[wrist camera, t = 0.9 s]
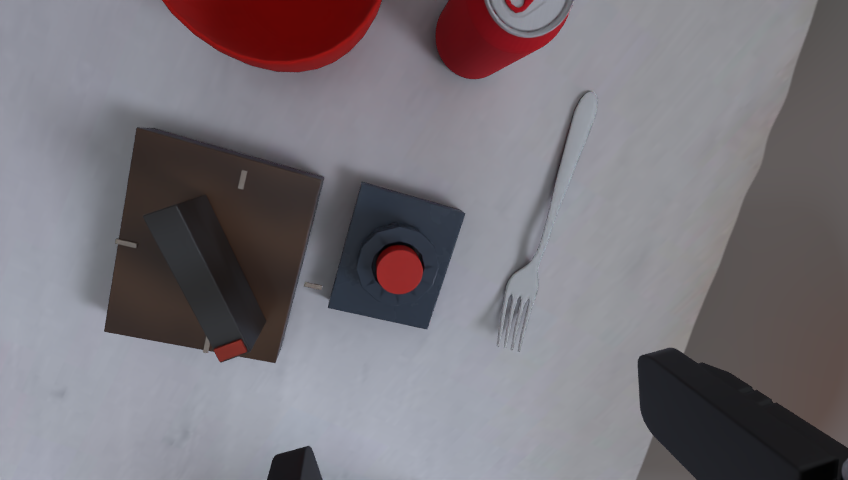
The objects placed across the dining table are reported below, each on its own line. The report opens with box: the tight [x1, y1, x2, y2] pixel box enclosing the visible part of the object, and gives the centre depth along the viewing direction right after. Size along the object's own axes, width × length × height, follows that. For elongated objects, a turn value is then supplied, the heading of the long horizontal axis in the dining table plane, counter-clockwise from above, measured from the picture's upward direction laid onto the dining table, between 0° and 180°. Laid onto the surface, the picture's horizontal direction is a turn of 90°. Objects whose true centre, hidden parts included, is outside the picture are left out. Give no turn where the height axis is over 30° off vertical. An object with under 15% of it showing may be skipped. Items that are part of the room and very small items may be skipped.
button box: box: [328, 182, 465, 329], centre depth 34 cm, size 11×9×4 cm
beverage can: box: [436, 0, 574, 79], centre depth 27 cm, size 6×6×12 cm
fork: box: [497, 91, 598, 352], centre depth 36 cm, size 3×24×2 cm, turn 163°
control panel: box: [104, 128, 324, 363], centre depth 32 cm, size 16×15×3 cm
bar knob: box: [143, 195, 266, 362], centre depth 29 cm, size 11×2×5 cm, turn 18°
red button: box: [376, 245, 423, 294], centre depth 32 cm, size 4×4×2 cm
